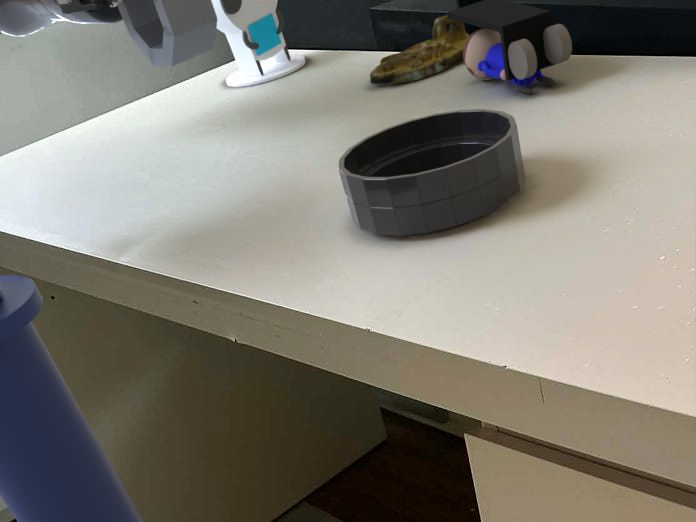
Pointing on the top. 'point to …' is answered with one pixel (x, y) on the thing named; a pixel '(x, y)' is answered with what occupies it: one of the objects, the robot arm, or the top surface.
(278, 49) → the panda figurine
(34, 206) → the top surface
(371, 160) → the bowl
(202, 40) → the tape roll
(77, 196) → the top surface
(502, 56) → the figurine character
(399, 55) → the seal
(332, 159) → the top surface
